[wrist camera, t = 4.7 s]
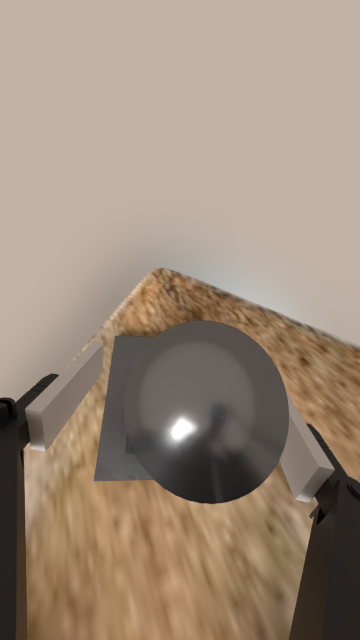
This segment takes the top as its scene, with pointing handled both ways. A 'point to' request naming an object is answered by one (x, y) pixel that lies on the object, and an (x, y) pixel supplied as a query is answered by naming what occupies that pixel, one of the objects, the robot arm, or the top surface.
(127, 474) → the square socket stand
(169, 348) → the silver mushroom-headed rod
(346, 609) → the robot arm
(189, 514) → the top surface
